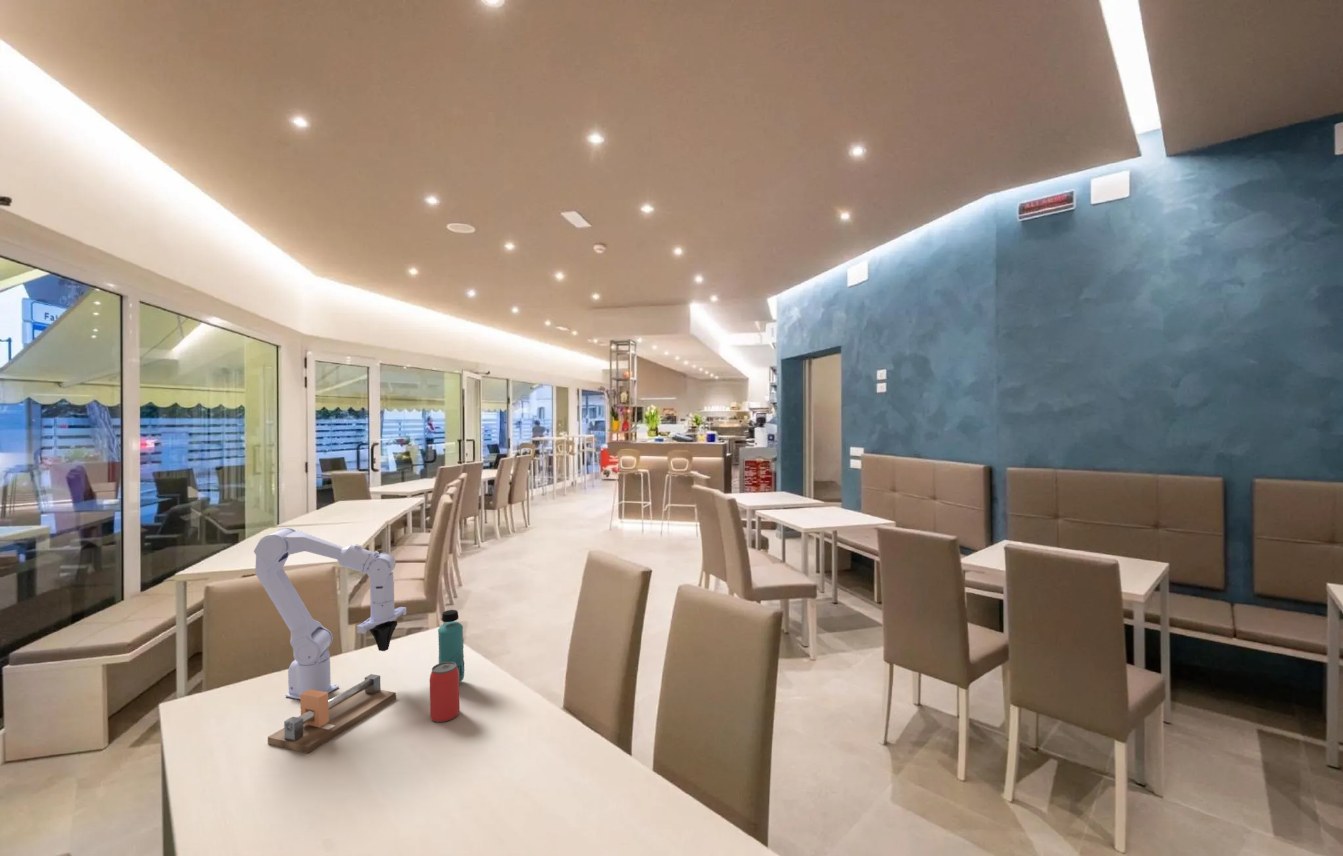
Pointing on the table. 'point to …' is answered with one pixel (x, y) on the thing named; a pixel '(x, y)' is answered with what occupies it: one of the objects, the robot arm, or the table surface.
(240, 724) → the table surface
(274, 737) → the board
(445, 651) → the beverage bottle
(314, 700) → the collar
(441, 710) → the beer can
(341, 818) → the table surface
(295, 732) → the pipe stand
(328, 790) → the table surface
